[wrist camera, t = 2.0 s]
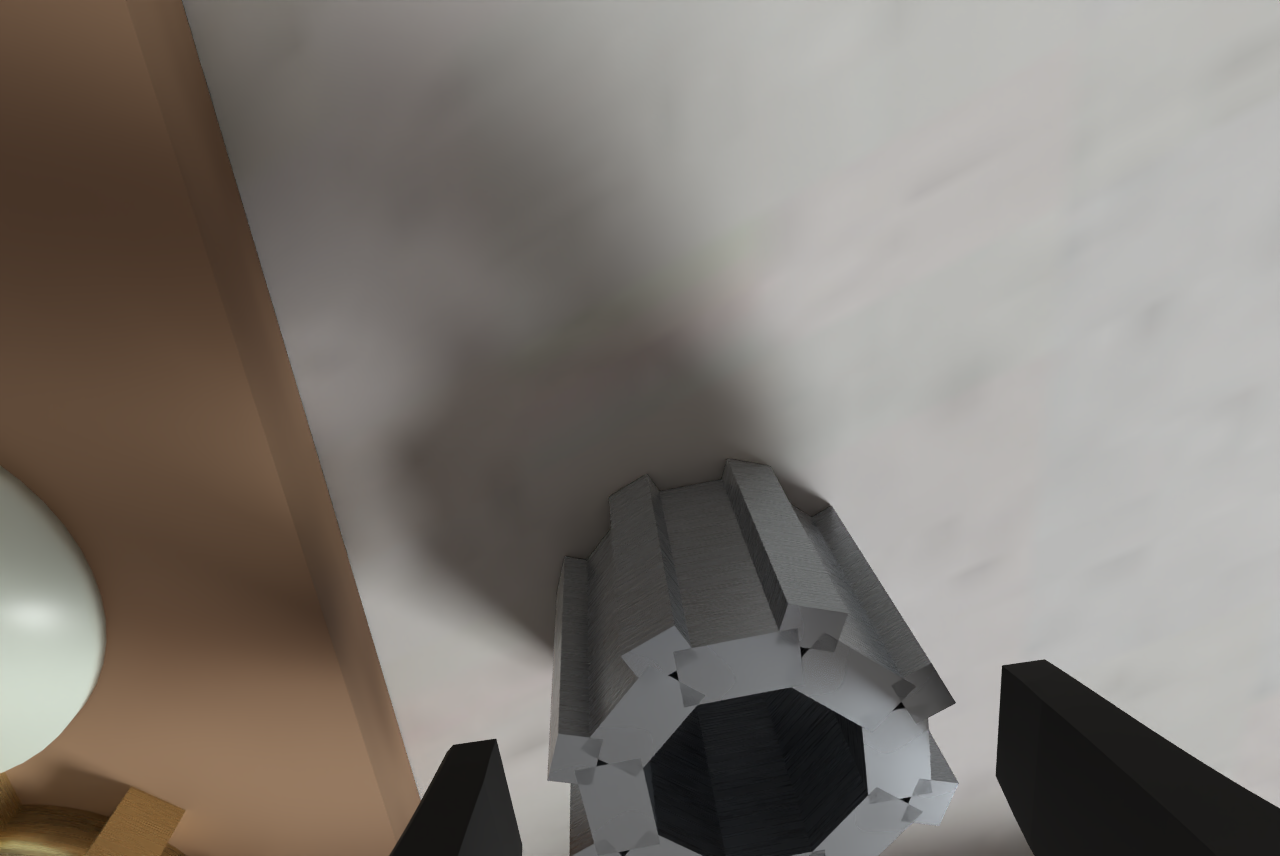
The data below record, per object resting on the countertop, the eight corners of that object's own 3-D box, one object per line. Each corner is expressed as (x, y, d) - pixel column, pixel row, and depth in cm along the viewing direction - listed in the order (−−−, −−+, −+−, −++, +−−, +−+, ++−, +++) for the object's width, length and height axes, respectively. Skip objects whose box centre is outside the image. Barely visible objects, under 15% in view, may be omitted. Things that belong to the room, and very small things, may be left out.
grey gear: (736, 755, 17) (788, 971, 13) (505, 636, 15) (476, 835, 11) (913, 559, 15) (1040, 728, 11) (676, 405, 14) (718, 534, 10)
